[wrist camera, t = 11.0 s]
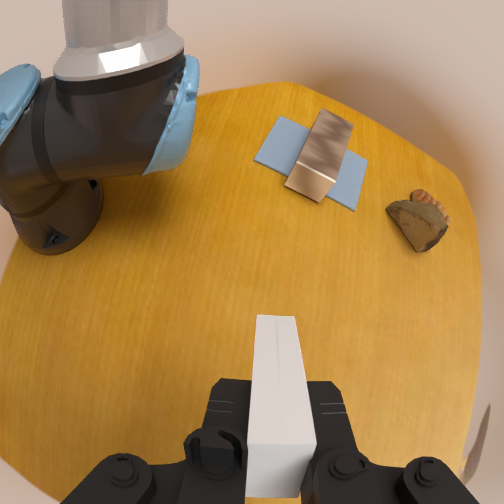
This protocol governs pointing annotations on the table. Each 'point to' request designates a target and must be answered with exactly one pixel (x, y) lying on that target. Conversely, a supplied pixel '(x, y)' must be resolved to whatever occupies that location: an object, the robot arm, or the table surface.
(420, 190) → the pastry
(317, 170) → the walnut block
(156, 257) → the table surface
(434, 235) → the rock
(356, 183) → the mat
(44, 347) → the table surface
